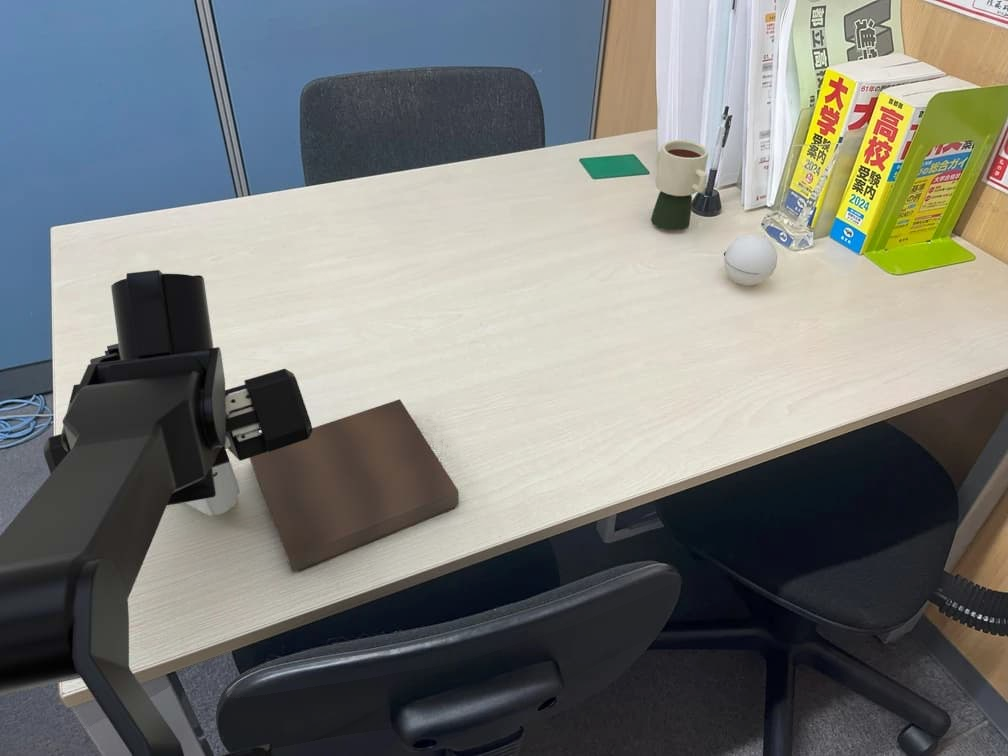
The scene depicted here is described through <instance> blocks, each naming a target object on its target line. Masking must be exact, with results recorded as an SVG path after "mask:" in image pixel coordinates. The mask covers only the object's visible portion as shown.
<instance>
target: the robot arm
mask: <svg viewBox="0 0 1008 756" xmlns="http://www.w3.org/2000/svg"><path fill="white" fill-rule="evenodd" d="M110 288H111V290H110V291H111V297H112V302H113V303H112V305H113V312H114V319H115V327H116V328H115V329H116V335H117V336H116V337H117V342H118V343H115V344H114V343H113V344H110V345H107V346H106V349H107V350H104V355H100V356H98V357H97V356H96V357H92V358H91V359H90V360H89V362H90V363H89V364H87V366H86V369H85V371H84V373H83V376H82V378H81V380H80V382H79V383H78V384H73V387H72V391H71V394H70V399H69V401H68V402H69V403H68V406H67V410H66V413H65V415H64V417H63V419H62V421H61V422H62V429H61V433H59V434H57V435H53V436H50V437H48V438H47V440H46V442H45V444H44V445H43V455H44V456H43V457H44V458H45V461H46V464H47V467H48V469H49V474H50V475H49V476H48V477H47V478H46V479H45V481H44V482H43V483H42V484H41V485H40V487H39V488H38V489H37V490H36V491H35V493H34V494H33V495H32V496H31V497H30V499H29V500H28V501H27V503H25V505H24V506H23V507H22V509H20V511H19V512H18V513H17V514H16V516H15V517H14V518H13V520H12V521H11V522H10V523H9V524H8V525H7V527H6V528H5V529H4V530H3V532H1V534H0V696H4V695H9V694H14V693H18V692H19V693H20V692H23V691H28V690H31V689H36V688H42V687H46V686H50V685H54V684H59V683H64V682H69V681H73V680H77V679H81V680H82V681H83V683H84V684H85V686H86V688H87V689H88V691H89V692H90V693H91V695H92V697H93V698H94V699H95V701H96V702H97V704H98V706H99V707H100V708H101V710H102V712H103V713H104V715H105V717H106V718H107V719H108V721H109V722H110V724H111V725H112V727H113V728H114V730H115V731H116V733H117V735H118V736H119V737H120V739H121V740H122V742H123V744H124V745H125V747H126V748H127V750H128V751H129V752H130V755H131V756H185V753H184V750H183V747H182V744H181V741H180V740H179V738H178V737H177V736H176V734H175V733H174V731H173V730H172V728H171V727H170V725H169V724H168V723H167V721H166V720H165V718H164V717H163V715H162V714H161V712H160V711H159V710H158V708H157V706H156V705H155V704H154V702H153V700H152V699H151V698H150V696H149V695H148V693H147V692H146V691H145V689H144V688H143V686H142V685H141V683H140V682H139V680H138V679H137V677H136V675H135V674H134V672H133V671H132V669H131V667H130V613H129V612H130V611H129V597H130V595H131V593H132V590H133V588H134V586H135V583H136V581H137V579H138V576H139V573H140V571H141V569H142V566H143V564H144V561H145V559H146V556H147V555H148V552H149V549H150V547H151V545H152V542H153V540H154V537H155V535H156V533H157V530H158V528H159V526H160V523H161V520H162V518H163V516H164V513H165V511H166V508H167V506H168V507H169V506H173V505H178V504H184V503H185V502H190V501H196V500H201V499H207V498H213V497H215V495H216V491H215V484H214V477H213V470H212V468H213V467H216V466H219V465H222V464H225V463H228V462H229V460H230V457H229V454H228V452H227V450H228V451H229V452H230V453H231V454H232V455H233V456H234V457H235V458H236V459H237V460H238V461H239V462H241V461H244V460H247V459H250V457H253V456H256V455H259V454H262V453H265V452H271V451H274V450H277V449H280V448H283V447H286V446H289V445H292V444H295V443H298V442H301V441H304V440H307V439H309V437H310V435H311V433H312V431H313V430H312V428H313V426H312V425H313V424H312V422H311V421H312V420H311V419H310V415H309V413H308V410H307V407H306V403H305V401H304V398H303V395H302V392H301V389H300V386H299V383H298V380H297V378H296V376H295V374H294V373H293V372H292V371H290V370H288V369H287V368H282V369H279V370H275V371H272V372H268V373H264V374H262V375H258V376H254V377H251V378H248V379H244V380H243V384H241V385H237V386H235V387H232V388H228V389H226V377H225V372H224V363H223V355H222V350H221V348H220V347H219V346H218V347H214V342H213V333H212V327H211V319H210V313H209V306H208V299H207V290H206V284H205V278H204V276H203V275H201V274H197V275H196V274H195V275H191V274H185V273H184V274H183V273H163V272H161V270H159V269H155V270H146V271H145V270H144V271H136V272H126V278H123V279H120V280H118V281H116V282H113V283H112V284H111V285H110ZM227 454H228V455H227ZM228 457H229V458H228ZM185 504H186V503H185ZM272 749H273V748H272V743H271V742H270V743H265V744H262V745H258V746H254V747H250V748H245V749H242V750H237V751H234V752H229V753H225V754H222V755H220V756H276V755H275V754H273V753H272V751H273V750H272Z"/></svg>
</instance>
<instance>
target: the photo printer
mask: <svg viewBox="0 0 1008 756" xmlns="http://www.w3.org/2000/svg"><path fill="white" fill-rule="evenodd" d="M227 455H228V458H229V462H228V463H225V464H222V465H219V466H216V467H213V468H212V470H213V477H214V484H215V491H216V495H215V497H213V498H207V499H201V500H196V501H190V502H185V504H186V505H188V506H190V507H191V508H193V509H194V510H197V511H198V512H201V513H202V514H204V515H207V516H210V517H214V516H220V515H222V514H224V513H226V512H228V511H230V510H231V509H232V508H233V507H234V506H235V505H236V503H237V501H238V499H239V494H240V493H241V489H240V485H239V483H238V480H237V476H236V474H235V471H234V469H233V466H232V463H231V461H230V457H229V454H228V453H227Z"/></svg>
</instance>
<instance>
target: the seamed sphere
mask: <svg viewBox="0 0 1008 756" xmlns="http://www.w3.org/2000/svg"><path fill="white" fill-rule="evenodd" d="M723 256H724V257H723V258H724V259H723V260H724V261H723V266H724V267H722V268H720V269H719V271H721V270H722V269H725V272H726V274H727V275H728V276H729V277H730V278H731V280H732V281H733V282H735V283H736V284H740V285H742V286H749V287H750V286H756V285H759V284H762V283H764V282H766V280H767V279H769V278H771V276H772V275H773V274H774V272H775V270H776V268H777V264H778V253H777V249H776V247H775V245H774V244H773V243H772V242H771V240H770V239H769V238H766V237H765V236H762V235H760V234H756V233H755V234H754V233H753V234H752V233H748V234H744V235H742V236H740V237H737V238H736V239H735V240H733V241H732V242H731V243H730V244H729V245H728V246H727V248H726V250H725V251H724V252H723Z"/></svg>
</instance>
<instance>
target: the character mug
mask: <svg viewBox="0 0 1008 756" xmlns="http://www.w3.org/2000/svg"><path fill="white" fill-rule="evenodd" d="M708 157H709V151H708V148H707V147H706V146H704V145H703V144H701V143H699V142H695V141H690V140H681V139H680V140H678V139H676V140H669V141H667V142H664V143H663V145H662V146H661V147H660V148H659V149H658V151H657V155H656V161H655V167H656V168H657V169H656V176H655V186H656V188H657V189H658V190H659V194H658V195H657V198H656V202H655V205H654V207H653V211H652V214H651V217H650V220H651V223H652V225H654V226H655V227H656V228H658V229H662V230H666V231H679V230H685V229H688V228H689V226H690V223H691V217H692V215H691V214H692V205H693V204H692V202H693V195H694V194H696V193H699V194H703V193H704V192H705V189H706V185H707V180H708V173H707V172H706V170H707V169H706V168H707V161H708Z"/></svg>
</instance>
